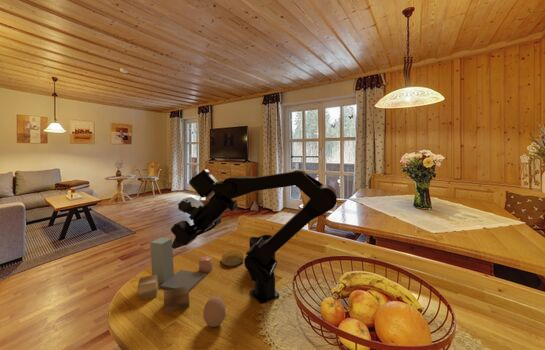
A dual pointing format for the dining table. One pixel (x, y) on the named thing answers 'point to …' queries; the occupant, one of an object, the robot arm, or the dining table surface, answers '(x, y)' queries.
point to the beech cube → (147, 287)
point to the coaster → (183, 280)
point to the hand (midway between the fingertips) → (182, 241)
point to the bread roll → (232, 257)
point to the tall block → (162, 259)
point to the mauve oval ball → (214, 312)
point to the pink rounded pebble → (205, 264)
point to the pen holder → (255, 239)
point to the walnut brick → (176, 299)
